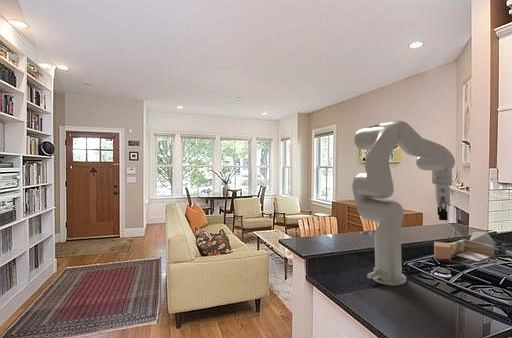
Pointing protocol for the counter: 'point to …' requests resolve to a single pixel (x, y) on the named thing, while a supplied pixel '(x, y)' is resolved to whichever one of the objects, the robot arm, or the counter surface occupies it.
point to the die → (482, 238)
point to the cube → (442, 250)
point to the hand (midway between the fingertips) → (442, 217)
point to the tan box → (472, 250)
